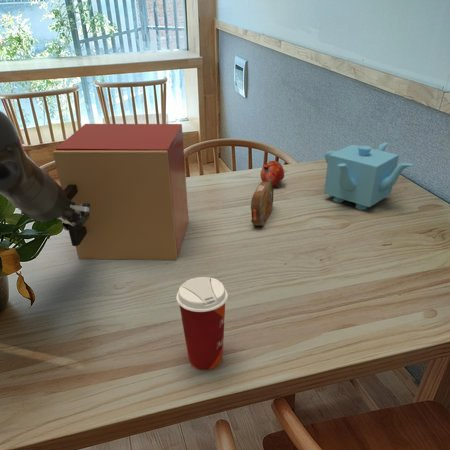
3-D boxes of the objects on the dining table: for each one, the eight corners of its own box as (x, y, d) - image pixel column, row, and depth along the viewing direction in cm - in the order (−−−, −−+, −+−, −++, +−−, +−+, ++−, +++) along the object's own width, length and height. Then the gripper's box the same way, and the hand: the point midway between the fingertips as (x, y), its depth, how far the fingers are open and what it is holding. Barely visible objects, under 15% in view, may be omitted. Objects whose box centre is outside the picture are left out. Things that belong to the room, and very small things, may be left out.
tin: (261, 231, 110) (262, 199, 105) (248, 230, 111) (249, 198, 106) (274, 207, 122) (275, 177, 117) (262, 205, 123) (263, 176, 118)
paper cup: (236, 365, 73) (236, 295, 65) (193, 380, 70) (187, 310, 62) (216, 337, 79) (213, 269, 70) (175, 350, 76) (167, 282, 68)
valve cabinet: (177, 257, 101) (167, 149, 86) (81, 255, 102) (55, 148, 88) (188, 222, 115) (181, 123, 101) (104, 220, 117) (85, 123, 102)
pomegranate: (269, 185, 140) (248, 171, 133) (284, 165, 137) (263, 150, 131) (282, 196, 135) (260, 182, 128) (297, 176, 133) (276, 160, 126)
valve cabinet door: (173, 274, 95) (161, 162, 81) (70, 272, 96) (40, 162, 82) (177, 257, 101) (167, 150, 86) (79, 256, 102) (54, 150, 88)
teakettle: (317, 188, 132) (322, 137, 123) (380, 186, 132) (390, 135, 124) (331, 216, 117) (339, 160, 108) (403, 213, 117) (416, 157, 108)
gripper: (77, 171, 75) (107, 208, 92) (-3, 171, 75) (42, 208, 93) (74, 214, 74) (105, 243, 91) (-7, 214, 74) (39, 243, 91)
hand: (73, 225), depth 92 cm, fingers closed on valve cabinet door
